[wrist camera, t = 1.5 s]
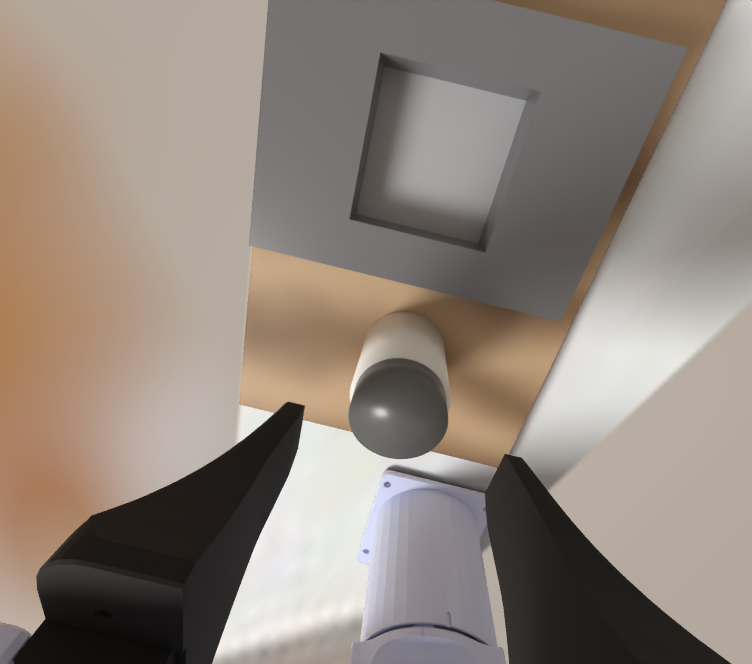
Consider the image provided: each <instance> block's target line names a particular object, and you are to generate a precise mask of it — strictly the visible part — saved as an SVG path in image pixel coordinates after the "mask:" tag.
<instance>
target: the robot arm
mask: <svg viewBox="0 0 752 664" xmlns="http://www.w3.org/2000/svg"><path fill="white" fill-rule="evenodd" d="M304 409H305V405H301V404H297V403H293V402H286V403H285V404H284V405H283V406H282V407H281V408H280V409H279V410H278V411H277V412H275V413H274V414H273V415H272V416H271V417H270V418H269V419H268V420H267V421H266V422H264V423H263V424H262V425H261V426H260V427H258V428H257V429H256V430H255V431H254V432H252V433H251V434H250V435H249V436H247V437H246V438H245V439H244V440H242V441H241V442H239V443H238V444H237V445H235V446H234V447H233V448H231V449H230V450H229V451H227V452H226V453H224V454H223V455H221V456H220V457H218V458H217V459H215V460H213V461H212V462H210V463H209V464H207V465H205V466H204V467H202V468H200V469H199V470H197V471H195V472H193V473H191V474H189V475H188V476H186V477H184V478H182V479H180V480H178V481H176V482H174V483H172V484H170V485H168V486H166V487H164V488H161V489H159V490H157V491H155V492H153V493H150V494H149V495H146V496H144V497H142V498H139V499H137V500H134V501H132V502H129V503H126V504H123V505H121V506H118V507H115V508H112V509H109V510H107V511H104V512H101V513H98V514H95V515H92V516H91V517H90V518H89V519H88V520H87V521H86V522H85V523H83V524H82V525H81V526H80V527H79V528H78V529H77V530H76V531H75V532H74V533H73V534H72V535H71V536H70V537H69V538H68V539H67V540H66V541H65V542H64V543H63V544H62V545H61V546H60V547H59V548H58V550H57V551H56V552H55V553H54V554H53V555H52V556H51V557H50V558H49V559H48V561H47V562H46V563H45V564H44V565H43V566H42V567H41V568H40V570H39V572H38V574H37V590H38V594H39V597H40V600H41V604H42V608H43V611H44V615H45V618H46V619H45V620H44V621H43V623H42V624H41V625H40V627H39V628H38V629H37V630H36V631H35V633H34V634H33V635H32V636H31V634H30V633H29V632H28V631H26V630H25V629H23V628H20V627H17V626H14V625H10V624H6V623H1V622H0V664H212V662H213V659H214V656H215V653H216V650H217V647H218V645H219V642H220V639H221V636H222V633H223V631H224V628H225V625H226V622H227V619H228V617H229V614H230V611H231V608H232V606H233V603H234V600H235V598H236V595H237V592H238V589H239V587H240V584H241V581H242V579H243V576H244V573H245V571H246V568H247V565H248V563H249V560H250V557H251V555H252V552H253V550H254V547H255V545H256V542H257V540H258V538H259V536H260V533H261V531H262V529H263V527H264V525H265V523H266V521H267V519H268V517H269V515H270V513H271V511H272V509H273V507H274V504H275V502H276V500H277V498H278V496H279V494H280V492H281V490H282V488H283V486H284V484H285V482H286V480H287V477H288V475H289V472H290V470H291V467H292V464H293V461H294V458H295V456H296V453H297V450H298V444H299V439H300V433H301V427H302V421H303V415H304ZM385 482H389V483H385ZM486 526H488V532H489V537H490V542H491V547H492V551H493V556H494V560H495V565H496V570H497V575H498V580H499V585H500V590H501V595H502V601H503V606H504V616H505V625H506V633H507V643H508V654H509V664H731V663H729V662H728V661H727V660H725V659H724V658H723V657H721V656H720V655H719V654H717V653H716V652H715V651H713V650H712V649H711V648H709V647H708V646H707V645H705V644H704V643H702V642H701V641H700V640H698V639H697V638H696V637H694V636H693V635H692V634H691V633H689V632H688V631H687V630H686V629H684V628H683V627H682V626H681V625H679V624H678V623H677V622H676V621H674V620H673V619H672V618H671V617H670V616H668V615H667V614H666V613H665V612H663V611H662V610H661V609H660V608H659V607H657V606H656V605H655V604H654V603H653V602H652V601H651V600H649V599H648V598H647V597H646V596H645V595H644V594H643V593H642V592H641V591H639V590H638V589H637V588H636V587H635V586H634V585H633V584H632V583H631V582H630V581H628V580H627V579H626V578H625V577H624V576H623V575H622V574H621V573H620V572H619V571H618V570H617V569H616V568H615V567H614V566H613V565H612V564H611V563H610V562H609V561H608V560H607V559H606V558H605V557H604V556H603V555H602V554H601V553H600V552H599V551H598V550H597V549H596V548H595V547H594V546H593V545H592V543H591V542H590V541H589V540H588V539H587V538H586V537H585V536H584V535H583V533H582V532H581V531H580V530H579V529H578V528H577V527H576V525H575V524H574V523H573V522H572V521H571V520H570V518H569V517H568V516H567V515H566V514H565V512H564V511H563V510H562V509H561V507H560V506H559V505H558V504H557V502H556V501H555V500H554V499H553V497H552V496H551V495H550V493H549V492H548V491H547V490H546V488H545V487H544V486H543V484H542V483H541V482H540V480H539V479H538V478H537V477H536V475H535V474H534V473H533V471H532V470H531V469H530V467H529V466H528V465H527V464H526V462H525V461H524V460H523V459H522V458H520V457H516V456H512V455H508V454H504V456H503V458H502V460H501V462H500V464H499V467H498V469H497V471H496V473H495V475H494V477H493V479H492V481H491V483H490V485H489V487H488V489H487V491H486V493H482V492H478V491H473V490H469V489H465V488H461V487H457V486H453V485H449V484H445V483H441V482H437V481H433V480H429V479H424V478H420V477H416V476H412V475H408V474H404V473H400V472H396V471H392V470H386V471H384V472H383V474H382V477H381V480H380V483H379V486H378V490H377V493H376V496H375V500H374V503H373V506H372V509H371V513H370V516H369V519H368V522H367V526H366V529H365V532H364V536H363V539H362V542H361V545H360V549H359V552H358V556H357V560H358V561H359V562H360V563H362V564H367V565H369V573H368V582H367V590H366V598H365V607H364V615H363V623H362V632H361V640H360V642H353V643H352V648H351V656H350V663H349V664H506V661H505V656H504V650H503V648H501V647H497V641H496V635H495V629H494V624H493V617H492V611H491V606H490V599H489V593H488V587H487V582H486V576H485V570H484V564H483V558H482V552H481V546H480V538H481V536H482V534H483V532H484V530H485V528H486Z"/></svg>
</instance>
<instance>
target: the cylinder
mask: <svg viewBox="0 0 752 664" xmlns="http://www.w3.org/2000/svg"><path fill="white" fill-rule="evenodd" d="M450 401H451V395H450V387H449V380H448V373H447V365H446V358H445V351H444V343H443V339H442V336H441V334H440V332H439V330H438V329H437V327H436V326H435V325H434V324H433V323H432V322H431V321H430V320H429V319H427V318H425V317H424V316H421V315H419V314H416V313H412V312H395V313H391V314H388V315H386V316H383V317H382V318H380V319H379V320H377V321H376V322H375V323H374V324H373V325H372V327H371V328H370V329H369V331H368V333H367V336H366V339H365V342H364V345H363V349H362V352H361V355H360V358H359V361H358V365H357V368H356V371H355V374H354V377H353V381H352V384H351V387H350V402H351V403H350V407H349V413H348V418H349V424H350V427H351V430H352V432H353V434H354V435H355V437H356V438H357V440H358V441H359V442H360V443H361V444H362V445H363V446H364V447H366V448H367V449H369V450H370V451H372V452H374V453H376V454H378V455H381V456H384V457H388V458H394V459H408V458H414V457H418V456H421V455H423V454H425V453H428V452H429V451H431V450H432V449H434V448H435V447H436V446H437V445H438V444H439V443H440V442H441V440H442V439H443V437H444V436H445V433H446V431H447V428H448V411H449V407H450Z"/></svg>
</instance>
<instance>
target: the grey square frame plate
mask: <svg viewBox="0 0 752 664" xmlns="http://www.w3.org/2000/svg"><path fill="white" fill-rule="evenodd" d="M687 50H688V48H687V47H683V46H679V45H675V44H671V43H666V42H662V41H658V40H654V39H650V38H646V37H642V36H638V35H634V34H630V33H625V32H621V31H617V30H613V29H609V28H605V27H601V26H597V25H593V24H589V23H585V22H580V21H576V20H572V19H568V18H564V17H560V16H556V15H552V14H548V13H544V12H539V11H535V10H531V9H527V8H523V7H519V6H515V5H511V4H507V3H503V2H498V1H494V0H269V1H268V14H267V26H266V39H265V51H264V64H263V76H262V89H261V101H260V114H259V127H258V139H257V152H256V164H255V177H254V189H253V202H252V214H251V227H250V239H249V246H253V247H257V248H261V249H265V250H269V251H273V252H277V253H281V254H285V255H290V256H294V257H298V258H302V259H306V260H310V261H314V262H318V263H322V264H326V265H330V266H335V267H339V268H343V269H347V270H351V271H355V272H359V273H363V274H367V275H371V276H375V277H379V278H384V279H388V280H392V281H396V282H400V283H404V284H408V285H412V286H416V287H420V288H424V289H429V290H433V291H437V292H441V293H445V294H449V295H453V296H457V297H461V298H465V299H469V300H474V301H478V302H482V303H486V304H490V305H494V306H498V307H502V308H506V309H510V310H514V311H518V312H523V313H527V314H531V315H535V316H539V317H543V318H547V319H551V320H555V321H559V322H561V320H562V318H563V316H564V314H565V312H566V310H567V307H568V305H569V303H570V301H571V299H572V297H573V295H574V292H575V290H576V288H577V286H578V284H579V282H580V280H581V277H582V275H583V273H584V271H585V269H586V267H587V265H588V262H589V260H590V258H591V256H592V254H593V252H594V249H595V247H596V245H597V243H598V241H599V239H600V237H601V234H602V232H603V230H604V228H605V226H606V224H607V222H608V219H609V217H610V215H611V213H612V211H613V209H614V207H615V204H616V202H617V200H618V198H619V196H620V194H621V191H622V189H623V187H624V185H625V183H626V181H627V179H628V176H629V174H630V172H631V170H632V168H633V166H634V164H635V161H636V159H637V157H638V155H639V153H640V151H641V149H642V146H643V144H644V142H645V140H646V138H647V136H648V133H649V131H650V129H651V127H652V125H653V123H654V121H655V118H656V116H657V114H658V112H659V110H660V108H661V106H662V103H663V101H664V99H665V97H666V95H667V93H668V91H669V88H670V86H671V84H672V82H673V80H674V78H675V75H676V73H677V71H678V69H679V67H680V65H681V63H682V60H683V58H684V56H685V54H686V52H687Z"/></svg>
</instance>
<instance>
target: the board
mask: <svg viewBox="0 0 752 664" xmlns="http://www.w3.org/2000/svg"><path fill="white" fill-rule="evenodd" d="M494 1H498V2H503V3H507V4H511V5H515V6H519V7H523V8H527V9H531V10H535V11H539V12H544V13H548V14H552V15H556V16H560V17H564V18H568V19H572V20H576V21H580V22H585V23H589V24H593V25H597V26H601V27H605V28H609V29H613V30H617V31H621V32H625V33H630V34H634V35H638V36H642V37H646V38H650V39H654V40H658V41H662V42H666V43H671V44H675V45H679V46H683V47H687V48H688V50H687V52H686V54H685V56H684V58H683V60H682V63H681V65H680V67H679V69H678V71H677V73H676V75H675V78H674V80H673V82H672V84H671V86H670V88H669V91H668V93H667V95H666V97H665V99H664V101H663V103H662V106H661V108H660V110H659V112H658V114H657V116H656V118H655V121H654V123H653V125H652V127H651V129H650V131H649V133H648V136H647V138H646V140H645V142H644V144H643V146H642V149H641V151H640V153H639V155H638V157H637V159H636V161H635V164H634V166H633V168H632V170H631V172H630V174H629V176H628V179H627V181H626V183H625V185H624V187H623V189H622V191H621V194H620V196H619V198H618V200H617V202H616V204H615V207H614V209H613V211H612V213H611V215H610V217H609V219H608V222H607V224H606V226H605V228H604V230H603V232H602V234H601V237H600V239H599V241H598V243H597V245H596V247H595V249H594V252H593V254H592V256H591V258H590V260H589V262H588V265H587V267H586V269H585V271H584V273H583V275H582V277H581V280H580V282H579V284H578V286H577V288H576V290H575V292H574V295H573V297H572V299H571V301H570V303H569V305H568V307H567V310H566V312H565V314H564V316H563V318H562V320H561V322H559V321H555V320H551V319H547V318H543V317H539V316H535V315H531V314H527V313H523V312H518V311H514V310H510V309H506V308H502V307H498V306H494V305H490V304H486V303H482V302H478V301H474V300H469V299H465V298H461V297H457V296H453V295H449V294H445V293H441V292H437V291H433V290H429V289H424V288H420V287H416V286H412V285H408V284H404V283H400V282H396V281H392V280H388V279H384V278H379V277H375V276H371V275H367V274H363V273H359V272H355V271H351V270H347V269H343V268H339V267H335V266H330V265H326V264H322V263H318V262H314V261H310V260H306V259H302V258H298V257H294V256H290V255H285V254H281V253H277V252H273V251H269V250H265V249H261V248H257V247H253V246H252V257H251V269H250V281H249V293H248V305H247V317H246V329H245V340H244V352H243V364H242V376H241V388H240V400H239V404H240V405H244V406H249V407H253V408H257V409H261V410H265V411H269V412H273V413H275V412H277V411H278V410H279V409H280V408H281V407H282V406H283V405H284V404H285V403H286V402H293V403H297V404H301V405H305V409H304V415H303V420H306V421H310V422H314V423H318V424H322V425H326V426H330V427H334V428H338V429H342V430H347V431H351V432H352V430H351V427H350V424H349V418H348V413H349V407H350V403H351V402H350V387H351V384H352V381H353V377H354V374H355V371H356V368H357V365H358V361H359V358H360V355H361V352H362V349H363V345H364V342H365V339H366V336H367V333H368V331H369V329H370V328H371V327H372V325H373V324H374V323H375V322H376V321H377V320H379V319H380V318H382V317H383V316H386V315H388V314H391V313H395V312H412V313H416V314H419V315H421V316H424V317H425V318H427V319H429V320H430V321H431V322H432V323H433V324H434V325H435V326H436V327H437V329H438V330H439V332H440V334H441V336H442V339H443V343H444V351H445V358H446V365H447V373H448V380H449V387H450V395H451V401H450V407H449V411H448V428H447V431H446V433H445V436H444V437H443V439H442V440H441V442H440V443H439V444H438V445H437V446H436V447H435V448H434V449H432V450H431V451H432V452H436V453H440V454H445V455H449V456H453V457H457V458H461V459H465V460H469V461H473V462H477V463H481V464H485V465H489V466H494V467H499V464H500V462H501V460H502V458H503V456H504V454H508V455H509V453H510V451H511V449H512V447H513V445H514V443H515V440H516V438H517V436H518V434H519V432H520V430H521V428H522V426H523V424H524V422H525V420H526V418H527V415H528V413H529V411H530V409H531V407H532V405H533V403H534V401H535V399H536V397H537V395H538V393H539V390H540V388H541V386H542V384H543V382H544V380H545V378H546V376H547V374H548V372H549V370H550V368H551V365H552V363H553V361H554V359H555V357H556V355H557V353H558V351H559V349H560V347H561V345H562V342H563V340H564V338H565V336H566V334H567V332H568V330H569V328H570V326H571V324H572V322H573V320H574V317H575V315H576V313H577V311H578V309H579V307H580V305H581V303H582V301H583V299H584V297H585V295H586V292H587V290H588V288H589V286H590V284H591V282H592V280H593V278H594V276H595V274H596V272H597V270H598V267H599V265H600V263H601V261H602V259H603V257H604V255H605V253H606V251H607V249H608V247H609V245H610V242H611V240H612V238H613V236H614V234H615V232H616V230H617V228H618V226H619V224H620V222H621V219H622V217H623V215H624V213H625V211H626V209H627V207H628V205H629V203H630V201H631V199H632V197H633V194H634V192H635V190H636V188H637V186H638V184H639V182H640V180H641V178H642V176H643V174H644V172H645V169H646V167H647V165H648V163H649V161H650V159H651V157H652V155H653V153H654V151H655V149H656V147H657V144H658V142H659V140H660V138H661V136H662V134H663V132H664V130H665V128H666V126H667V124H668V121H669V119H670V117H671V115H672V113H673V111H674V109H675V107H676V105H677V103H678V101H679V99H680V96H681V94H682V92H683V90H684V88H685V86H686V84H687V82H688V80H689V78H690V76H691V74H692V71H693V69H694V67H695V65H696V63H697V61H698V59H699V57H700V55H701V53H702V51H703V49H704V46H705V44H706V42H707V40H708V38H709V36H710V34H711V32H712V30H713V28H714V26H715V23H716V21H717V19H718V17H719V15H720V13H721V11H722V9H723V7H724V5H725V3H726V1H727V0H494Z"/></svg>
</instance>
